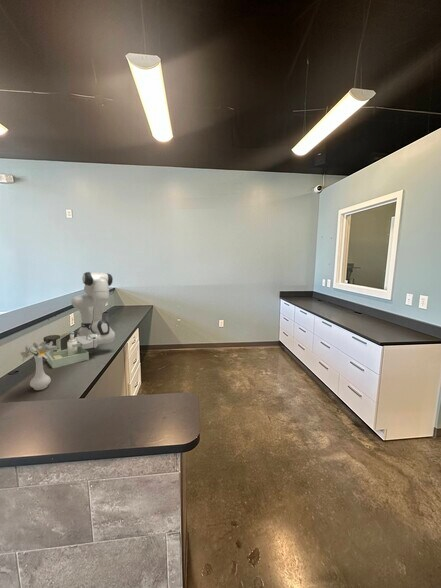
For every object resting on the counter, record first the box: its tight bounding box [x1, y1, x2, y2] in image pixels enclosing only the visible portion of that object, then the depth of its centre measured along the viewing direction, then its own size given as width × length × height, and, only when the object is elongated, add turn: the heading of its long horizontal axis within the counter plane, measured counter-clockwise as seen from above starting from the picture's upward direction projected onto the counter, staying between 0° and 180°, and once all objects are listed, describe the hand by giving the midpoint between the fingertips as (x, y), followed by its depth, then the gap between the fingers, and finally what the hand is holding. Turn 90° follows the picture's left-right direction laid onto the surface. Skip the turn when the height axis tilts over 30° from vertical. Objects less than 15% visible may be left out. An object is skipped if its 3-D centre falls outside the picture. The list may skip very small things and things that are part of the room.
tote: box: [46, 347, 90, 369], centre depth 172 cm, size 16×22×6 cm
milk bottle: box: [66, 331, 78, 356], centre depth 173 cm, size 6×6×19 cm
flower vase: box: [20, 341, 57, 391], centre depth 136 cm, size 13×18×25 cm
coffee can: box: [43, 334, 62, 355], centre depth 180 cm, size 10×10×14 cm
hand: (70, 344), depth 172 cm, fingers closed on milk bottle, 6 cm apart
